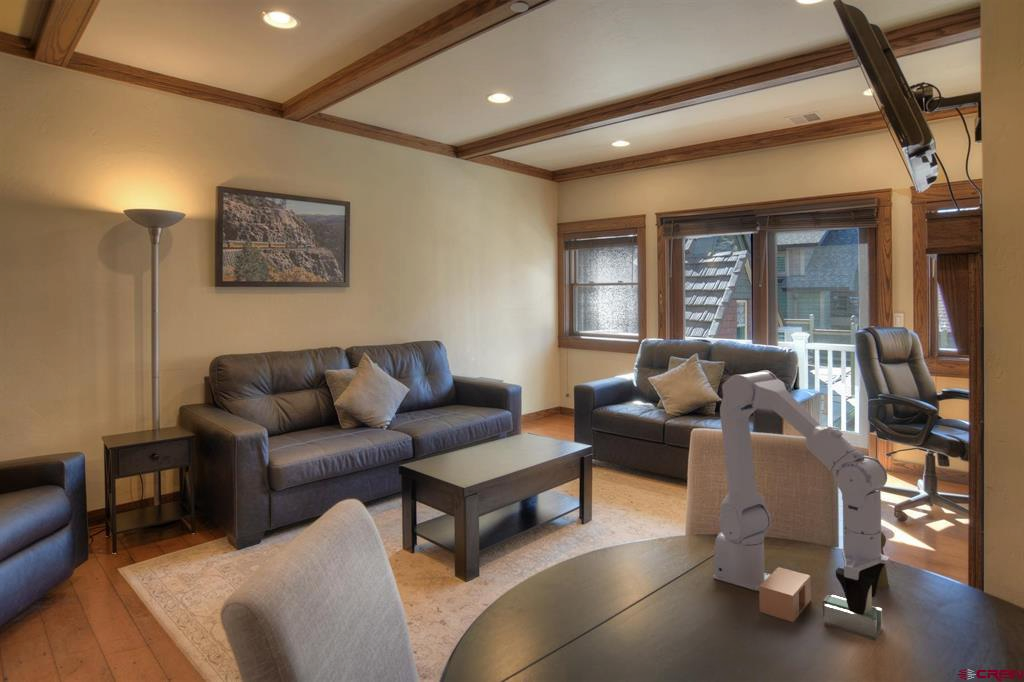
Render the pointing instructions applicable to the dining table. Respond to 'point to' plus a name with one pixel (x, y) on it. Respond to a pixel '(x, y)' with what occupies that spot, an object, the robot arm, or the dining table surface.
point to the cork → (883, 576)
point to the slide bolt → (843, 604)
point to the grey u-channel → (853, 621)
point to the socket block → (785, 594)
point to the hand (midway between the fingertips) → (862, 603)
